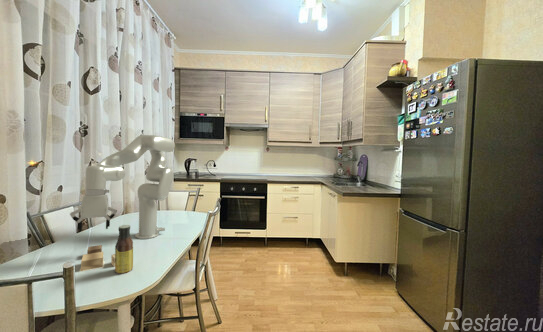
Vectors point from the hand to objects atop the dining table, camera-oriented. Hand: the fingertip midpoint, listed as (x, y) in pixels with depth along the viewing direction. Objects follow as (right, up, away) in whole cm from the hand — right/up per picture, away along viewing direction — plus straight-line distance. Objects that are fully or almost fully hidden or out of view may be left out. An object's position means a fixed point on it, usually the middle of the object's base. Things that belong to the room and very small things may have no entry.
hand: (94, 229), depth 106 cm
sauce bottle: (+21, -15, -11) cm, 28 cm away
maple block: (+15, -14, -6) cm, 21 cm away
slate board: (+7, -14, -7) cm, 17 cm away
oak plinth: (+6, -13, -8) cm, 16 cm away
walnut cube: (-1, -14, +1) cm, 14 cm away
